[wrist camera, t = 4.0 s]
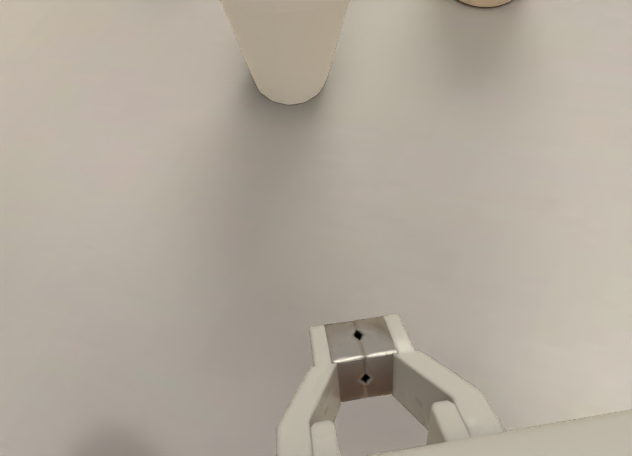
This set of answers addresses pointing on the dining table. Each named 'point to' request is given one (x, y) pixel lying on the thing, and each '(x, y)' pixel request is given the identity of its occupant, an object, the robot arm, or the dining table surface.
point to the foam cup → (287, 43)
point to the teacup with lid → (485, 2)
